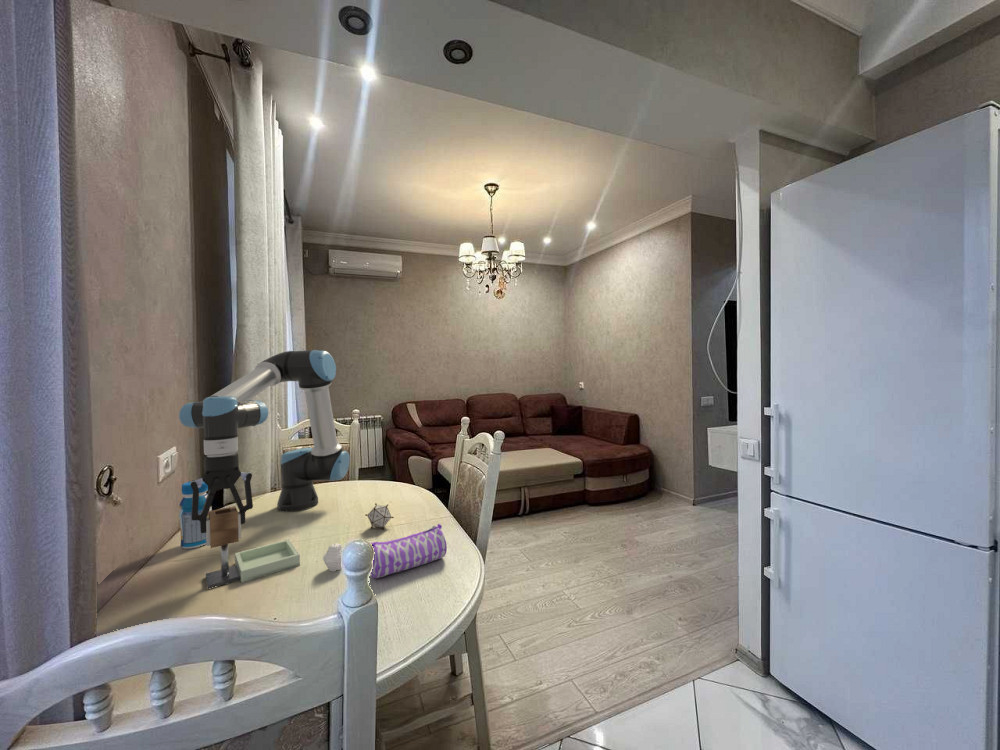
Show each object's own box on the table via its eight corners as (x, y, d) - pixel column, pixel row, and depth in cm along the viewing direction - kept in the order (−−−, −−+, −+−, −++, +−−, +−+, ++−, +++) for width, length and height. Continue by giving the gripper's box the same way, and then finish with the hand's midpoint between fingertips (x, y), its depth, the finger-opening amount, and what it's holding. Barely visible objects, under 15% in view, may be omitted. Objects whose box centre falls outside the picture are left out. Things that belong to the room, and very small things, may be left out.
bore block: (236, 534, 111) (235, 506, 110) (238, 541, 106) (237, 511, 106) (209, 540, 107) (208, 511, 107) (210, 548, 102) (210, 517, 102)
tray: (289, 548, 123) (288, 539, 123) (300, 565, 113) (299, 554, 113) (235, 563, 114) (234, 553, 114) (241, 582, 104) (241, 571, 104)
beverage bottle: (191, 551, 123) (189, 487, 123) (173, 547, 126) (171, 485, 126) (218, 540, 131) (217, 480, 131) (201, 537, 134) (199, 478, 134)
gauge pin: (241, 567, 112) (240, 535, 112) (244, 578, 106) (243, 544, 106) (205, 577, 107) (204, 544, 107) (207, 589, 101) (206, 554, 101)
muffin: (349, 562, 114) (348, 538, 113) (344, 573, 108) (344, 547, 107) (326, 564, 112) (325, 540, 112) (320, 575, 106) (319, 549, 106)
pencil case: (435, 549, 121) (435, 518, 121) (452, 560, 114) (451, 527, 114) (363, 573, 107) (362, 539, 107) (376, 588, 100) (375, 550, 100)
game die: (378, 540, 137) (366, 524, 131) (369, 525, 143) (357, 509, 137) (401, 523, 141) (390, 506, 135) (390, 509, 146) (380, 492, 141)
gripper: (175, 462, 97) (178, 556, 97) (264, 450, 109) (267, 534, 109) (175, 457, 103) (178, 546, 103) (260, 447, 115) (262, 526, 115)
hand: (223, 540), depth 106 cm, fingers closed on bore block, 6 cm apart
